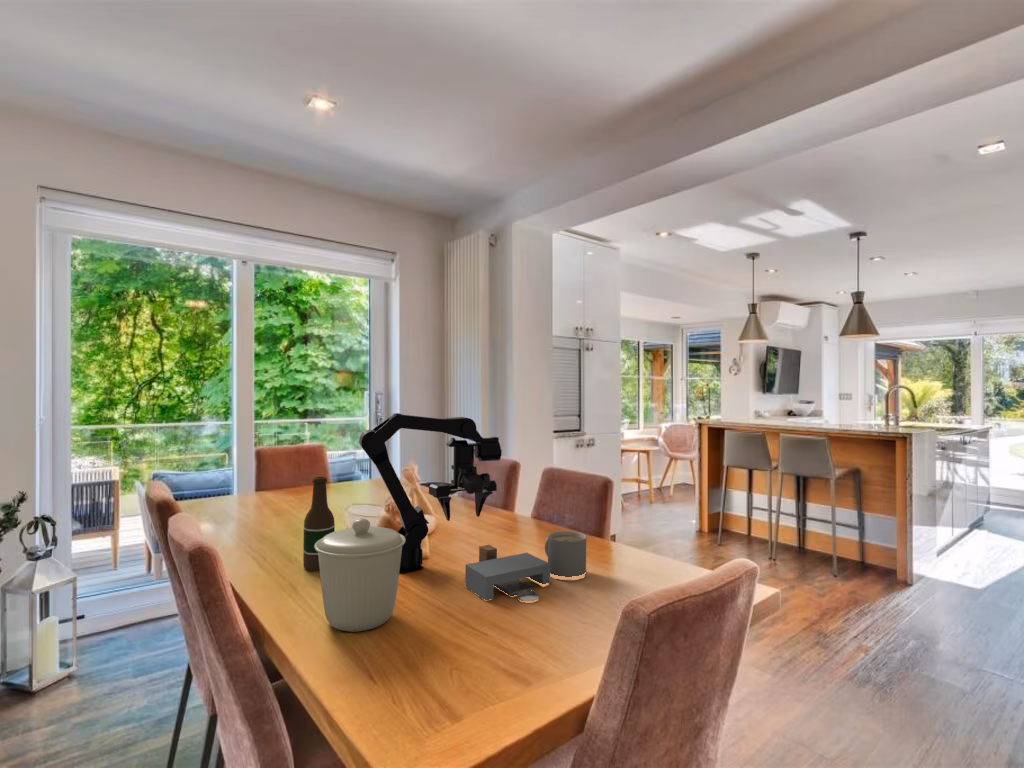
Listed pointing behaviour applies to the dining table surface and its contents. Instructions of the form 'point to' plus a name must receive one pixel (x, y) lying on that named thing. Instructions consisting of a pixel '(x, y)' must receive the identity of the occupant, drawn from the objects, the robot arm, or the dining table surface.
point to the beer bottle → (316, 524)
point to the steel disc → (527, 596)
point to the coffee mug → (566, 553)
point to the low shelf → (504, 572)
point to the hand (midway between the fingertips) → (463, 518)
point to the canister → (359, 575)
